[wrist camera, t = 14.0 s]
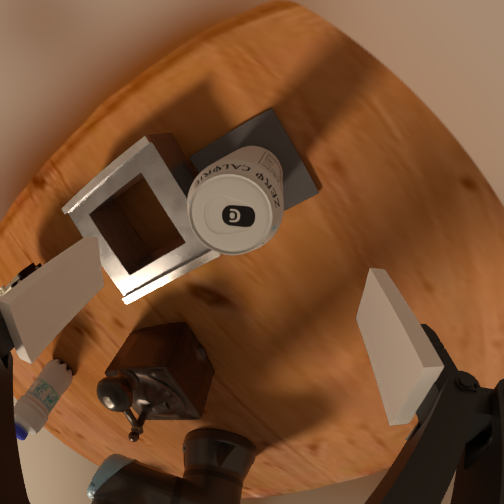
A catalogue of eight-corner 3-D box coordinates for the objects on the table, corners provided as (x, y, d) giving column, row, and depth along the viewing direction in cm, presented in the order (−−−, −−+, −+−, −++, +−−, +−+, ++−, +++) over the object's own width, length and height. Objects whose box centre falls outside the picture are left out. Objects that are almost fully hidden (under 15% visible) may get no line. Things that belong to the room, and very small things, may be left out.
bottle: (54, 350, 47) (1, 420, 29) (80, 372, 49) (32, 446, 30) (47, 362, 50) (0, 427, 31) (71, 383, 51) (28, 450, 33)
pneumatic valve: (81, 271, 39) (32, 317, 28) (45, 297, 42) (3, 337, 31) (61, 240, 37) (6, 278, 26) (28, 270, 40) (-18, 306, 29)
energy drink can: (225, 143, 29) (178, 160, 16) (285, 147, 29) (289, 167, 15) (223, 199, 32) (179, 259, 18) (279, 204, 32) (278, 269, 18)
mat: (237, 233, 34) (237, 235, 33) (190, 156, 31) (188, 157, 30) (318, 191, 31) (319, 193, 31) (272, 108, 28) (271, 108, 28)
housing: (147, 277, 38) (126, 304, 32) (92, 193, 34) (61, 208, 28) (231, 231, 34) (220, 255, 28) (170, 132, 30) (145, 135, 24)
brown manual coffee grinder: (220, 372, 43) (194, 474, 27) (160, 379, 46) (123, 466, 29) (174, 287, 38) (112, 391, 21) (112, 303, 40) (45, 389, 24)
